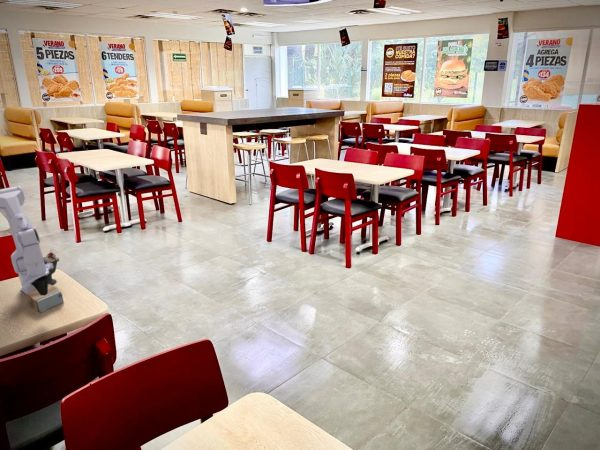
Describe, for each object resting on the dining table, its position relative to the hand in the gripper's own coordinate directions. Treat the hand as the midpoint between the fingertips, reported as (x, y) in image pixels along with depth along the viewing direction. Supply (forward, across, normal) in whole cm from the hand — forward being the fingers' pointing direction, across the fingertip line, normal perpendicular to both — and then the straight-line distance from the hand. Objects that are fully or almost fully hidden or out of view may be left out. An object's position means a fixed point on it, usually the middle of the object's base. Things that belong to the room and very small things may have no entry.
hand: (44, 294), depth 166 cm
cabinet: (+8, +7, +6) cm, 12 cm away
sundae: (+8, +23, +15) cm, 28 cm away
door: (+8, +4, +2) cm, 9 cm away
